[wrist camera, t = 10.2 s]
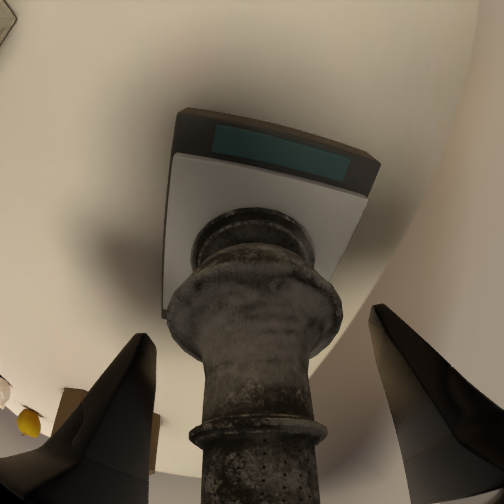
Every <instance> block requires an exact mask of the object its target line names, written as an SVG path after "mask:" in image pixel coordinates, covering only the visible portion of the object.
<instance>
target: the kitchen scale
mask: <svg viewBox="0 0 504 504" xmlns="http://www.w3.org/2000/svg"><path fill="white" fill-rule="evenodd" d="M380 166H381V163H380V162H378V161H377V160H376V159H375V158H373V157H372V156H371V155H369V154H368V153H367V152H365V151H362V150H359V149H356V148H354V147H351V146H348V145H345V144H342V143H339V142H336V141H333V140H330V139H327V138H323V137H320V136H317V135H314V134H310V133H307V132H303V131H300V130H296V129H292V128H288V127H285V126H281V125H277V124H273V123H268V122H264V121H260V120H255V119H251V118H246V117H241V116H236V115H231V114H225V113H220V112H214V111H207V110H201V109H194V108H185V109H183V110H182V111H180V112H178V113H177V117H176V123H175V130H174V136H173V143H172V151H171V158H170V167H169V175H168V185H167V195H166V207H165V220H164V235H163V255H162V294H161V314H162V319H166V320H167V307H168V305H169V302H170V300H171V298H172V295H173V293H174V291H175V290H176V289H177V288H178V287H179V286H180V285H181V284H182V283H183V282H184V281H185V280H186V279H187V278H188V277H189V276H190V275H191V274H192V273H193V271H192V267H191V263H190V259H191V249H192V245H193V243H194V241H195V239H196V237H197V235H198V233H199V232H200V231H201V230H202V229H203V228H204V226H205V225H206V224H207V223H208V222H210V221H211V220H213V219H214V218H216V217H218V216H219V215H221V214H223V213H225V212H229V211H232V210H235V209H239V208H250V207H262V208H267V209H272V210H277V211H279V212H281V213H284V214H286V215H288V216H290V217H292V218H293V219H295V220H296V221H297V222H298V223H299V224H300V225H302V226H303V227H304V228H305V230H306V231H307V233H308V234H309V236H310V238H311V239H312V242H313V246H314V250H315V255H316V256H315V265H314V269H315V270H316V271H317V272H318V273H319V275H321V276H322V277H323V278H324V279H326V280H327V281H328V282H329V281H330V279H331V277H332V275H333V273H334V271H335V270H336V268H337V266H338V264H339V262H340V260H341V258H342V256H343V254H344V252H345V250H346V248H347V246H348V244H349V242H350V240H351V237H352V235H353V233H354V231H355V229H356V227H357V225H358V223H359V220H360V218H361V216H362V214H363V212H364V210H365V207H366V205H367V203H368V199H367V197H368V195H369V192H370V190H371V188H372V185H373V183H374V180H375V178H376V176H377V173H378V171H379V168H380Z"/></svg>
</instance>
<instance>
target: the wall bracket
mask: <svg viewBox="0 0 504 504" xmlns="http://www.w3.org/2000/svg"><path fill="white" fill-rule="evenodd" d="M9 397H10V387H9V384H8V383H7V381H6V380H4V379H2V378H1V377H0V408H1V409H4V407H5V406H4V405H5V402H7V401H8V400H9Z"/></svg>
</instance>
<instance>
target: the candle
mask: <svg viewBox="0 0 504 504" xmlns="http://www.w3.org/2000/svg"><path fill="white" fill-rule="evenodd" d="M87 393H88V392H86V391H84V390H79V389H70V388H65V389H64V392H63V395H62V398H61V401H60V405H59V408H58V411H57V415H56V419H55V422H54V426H53V430H52V434H51V436H52V435H53V434H54V433H55V432H56V431H57V429H58V428H59V427H60V426H61V425H62V424H63V423H64V422H65V421H66V419H67V418H68V417H69V416H70V415H71V413H72V412H73V411H74V410H75V408H76V407H77V406H78V404H79V403H80V402H82V399H83V398H84V397H85V396H86V394H87ZM159 429H160V415H158V414H155V413H153V420H152V432H151V445H150V461H149V475H151V474H154V473H155V464H156V454H157V445H158V437H159Z"/></svg>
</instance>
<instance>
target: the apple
mask: <svg viewBox="0 0 504 504" xmlns="http://www.w3.org/2000/svg"><path fill="white" fill-rule="evenodd" d="M17 425H18V428H19V430H20V431H21V432H22V433H24V434H23V435H25V434H26V435H29V436H31V437H33V438H36V437H38V435H39V434H40V430H41V424H40V420H39V417H38V415H37V413H36V412H35V411H32V410H30V409H24V410H23V411H22V412H21V413H20V414H19V416H18V418H17ZM23 435H22V436H23Z"/></svg>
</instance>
